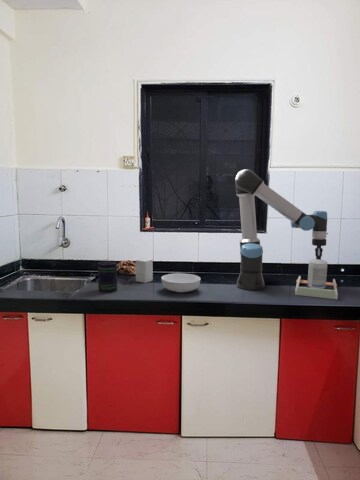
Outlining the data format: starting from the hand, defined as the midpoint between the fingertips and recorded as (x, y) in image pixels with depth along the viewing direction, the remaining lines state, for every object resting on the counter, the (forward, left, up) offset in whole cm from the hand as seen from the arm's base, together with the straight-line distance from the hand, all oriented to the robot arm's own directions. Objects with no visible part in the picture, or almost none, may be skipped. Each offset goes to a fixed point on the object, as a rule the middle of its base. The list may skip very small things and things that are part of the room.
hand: (317, 278), depth 203 cm
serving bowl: (-68, -44, -3) cm, 80 cm away
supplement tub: (-1, -9, -3) cm, 9 cm away
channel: (-1, -12, -3) cm, 12 cm away
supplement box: (-95, -34, -3) cm, 100 cm away
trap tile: (-1, +1, -3) cm, 3 cm away
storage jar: (-103, -60, -3) cm, 119 cm away
